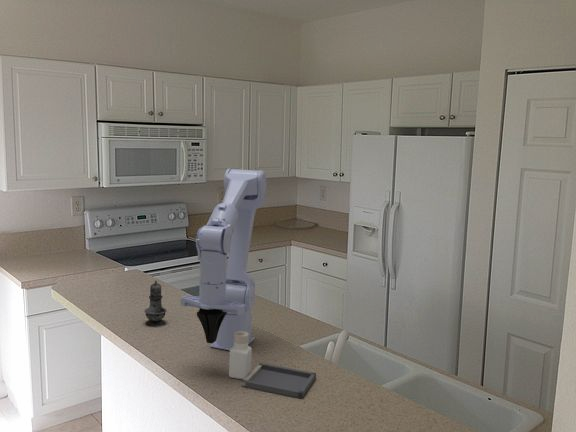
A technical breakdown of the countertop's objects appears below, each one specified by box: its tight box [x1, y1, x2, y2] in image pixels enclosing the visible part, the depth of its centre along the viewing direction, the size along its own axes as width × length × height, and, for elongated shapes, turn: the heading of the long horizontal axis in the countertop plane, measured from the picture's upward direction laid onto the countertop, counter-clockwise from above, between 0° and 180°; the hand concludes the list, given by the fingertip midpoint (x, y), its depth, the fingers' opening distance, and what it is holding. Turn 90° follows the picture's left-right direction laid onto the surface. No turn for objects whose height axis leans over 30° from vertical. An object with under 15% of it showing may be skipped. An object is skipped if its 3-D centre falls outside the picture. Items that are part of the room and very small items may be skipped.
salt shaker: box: [143, 280, 168, 328], centre depth 144 cm, size 6×6×12 cm
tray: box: [241, 362, 317, 400], centre depth 113 cm, size 10×13×1 cm
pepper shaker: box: [228, 331, 253, 380], centre depth 115 cm, size 4×4×10 cm
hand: (211, 341), depth 116 cm, fingers closed
